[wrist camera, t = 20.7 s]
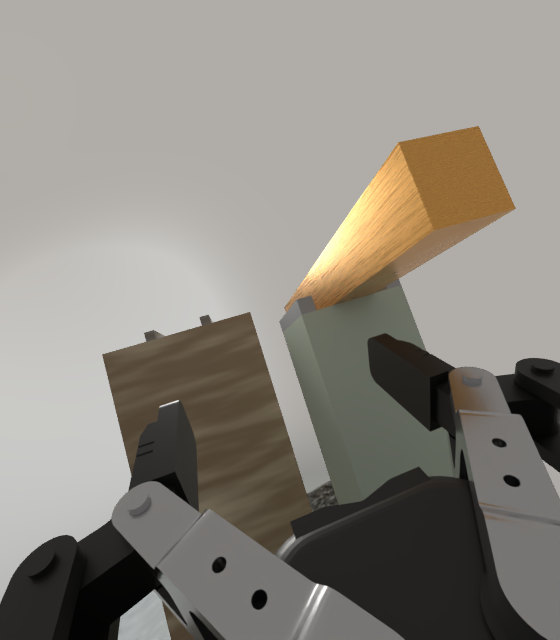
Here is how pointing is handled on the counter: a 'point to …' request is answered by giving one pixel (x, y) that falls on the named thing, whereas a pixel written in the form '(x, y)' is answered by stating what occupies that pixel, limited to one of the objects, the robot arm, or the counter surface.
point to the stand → (216, 424)
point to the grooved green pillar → (359, 393)
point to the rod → (409, 216)
